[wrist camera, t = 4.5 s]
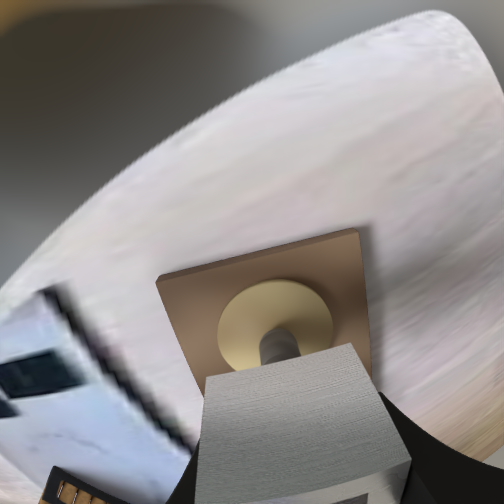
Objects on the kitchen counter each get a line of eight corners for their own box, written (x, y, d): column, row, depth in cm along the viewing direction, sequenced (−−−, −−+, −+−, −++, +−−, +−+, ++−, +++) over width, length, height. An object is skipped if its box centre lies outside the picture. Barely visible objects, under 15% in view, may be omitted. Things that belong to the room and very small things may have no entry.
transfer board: (368, 433, 22) (388, 482, 17) (242, 463, 23) (243, 516, 17) (352, 227, 17) (397, 260, 12) (159, 275, 17) (130, 326, 12)
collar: (356, 429, 13) (392, 524, 7) (243, 456, 13) (248, 556, 7) (350, 342, 11) (411, 459, 6) (206, 376, 11) (194, 506, 6)
